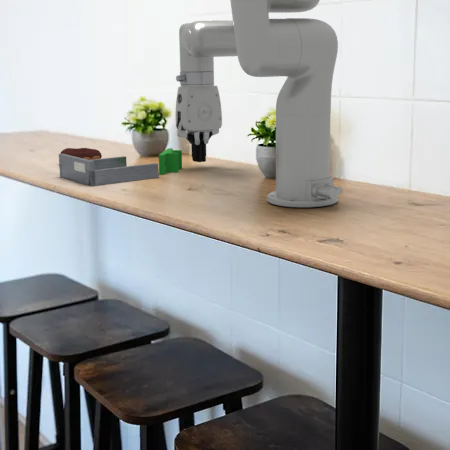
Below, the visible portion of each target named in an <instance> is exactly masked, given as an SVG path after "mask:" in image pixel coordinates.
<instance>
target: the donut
mask: <svg viewBox="0 0 450 450" xmlns="http://www.w3.org/2000/svg"><path fill="white" fill-rule="evenodd" d="M59 154H66V155H70V156H75V157H79V158H83V159H87V160H94V159H102V156H103V155H102V153H101V152H100V150H98V149H95V148H89V147H80V148H71V147H68V148H65V149H62V150H61V151H60V153H59Z"/></svg>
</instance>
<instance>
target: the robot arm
mask: <svg viewBox="0 0 450 450" xmlns="http://www.w3.org/2000/svg"><path fill="white" fill-rule="evenodd" d="M319 3H320V0H230V7H231V17H232V20H195V21H193V22H187V23H186V22H185V23H182V24H181V25H180V27H179V30H178V36H179V37H178V39H179V40H178V41H179V67H180V68H179V75H176V77H175V80H176V82H177V83H178V82H179V85H180V86H178V88H177V93H176V100H175V102H176V103H175V128H176V129H177V133H176V134H177V137H180V138H185V139H186V140H187V141H188V143H189V144H190V146H191V157H192V158H191V159H192V162H195V163H204V162H206V161H207V144H209V141H210V139H211V138H212V136H215V135H218V134H219V133H220V129H221V128H222V126H223V116H222V115H223V113H222V112H223V111H222V105H221V104H222V103H221V96H220V92H219V87H218V85H215V71H214V70H215V67H214V66H215V63H214V61H215V60H214V58H215V57H216V58H218V57H237V60H238V62H239V65H240V67H241V69H242V71H244V73H245V74H246V75H248V76H251V77H254V78H255V77H256V78H268V77H269V78H271V77H272V78H273V77H275V78H277V77H287V78H286V80H285V81H284V83H283V85H282V87H281V89H280V90H279V92H278V95H277V97H276V102H275V190H274V191H271V192H269V193H268V194H267V196H266V199H267V202H268V203H270V204H271V205H276V206H280V207H288V208H321V207H326V206H332V205H334V204H336V203H338V201H339V196H340V195H341V194H343V188H342V186H337V185H334V177H331V176H330V175H331V174H330V172H331V170H330V167H331V165H330V164H331V113H332V112H331V111H332V89H333V87H332V86H333V80H334V79H333V78H334V77H333V76H334V72H335V66H336V62H337V58H338V51H339V50H338V49H339V41H338V36H337V33H336V31H335V29H334V28H333V27H332V26H331V24H329V23H327V22H326V21H323V20H320V19H316V18H306V17H305V18H304V17H303V18H299V17H298V18H295V17H294V18H293V17H291V18H290V17H289V18H287V17H286V18H270V17H269V14H270V13H272V14H273V13H274V14H275V13H276V14H277V13H279V14H280V13H281V14H283V13H285V14H287V13H305V12H308V11H310V10H313V9H314V8H315V7H317V6H318V4H319Z"/></svg>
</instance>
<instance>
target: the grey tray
mask: <svg viewBox="0 0 450 450" xmlns="http://www.w3.org/2000/svg"><path fill="white" fill-rule="evenodd" d="M58 164H59V178H63V179H67V180H69V181H73V182H75V183H79V184H83V185H86V186H89V187H90V186H91V187H95V186H96V187H97V186H103V185H109V184H117V183H126V182H135V181H141V180H149V179H157V178H159V176H160V175H159V162H153V163H144V164H138V165H128V164H127V156H123V155H122V156H112V157H107V158H105V157H104V158H101V159H94V160H87V159H83V158H79V157H75V156H70V155H66V154H60V153H58ZM127 165H128V166H127Z"/></svg>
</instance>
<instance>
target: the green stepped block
mask: <svg viewBox="0 0 450 450" xmlns="http://www.w3.org/2000/svg"><path fill="white" fill-rule="evenodd" d="M182 151H183V150H182V149H180V150H179V149H173V148H167V149H165V150H164V151H162V152H161V153H159V154H158V172H159V176H161V175H162V176H164V174H165V175H166V174H167V172H172V173H173V172H174V173H179V172H180V170H183V154H182V153H183V152H182Z"/></svg>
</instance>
